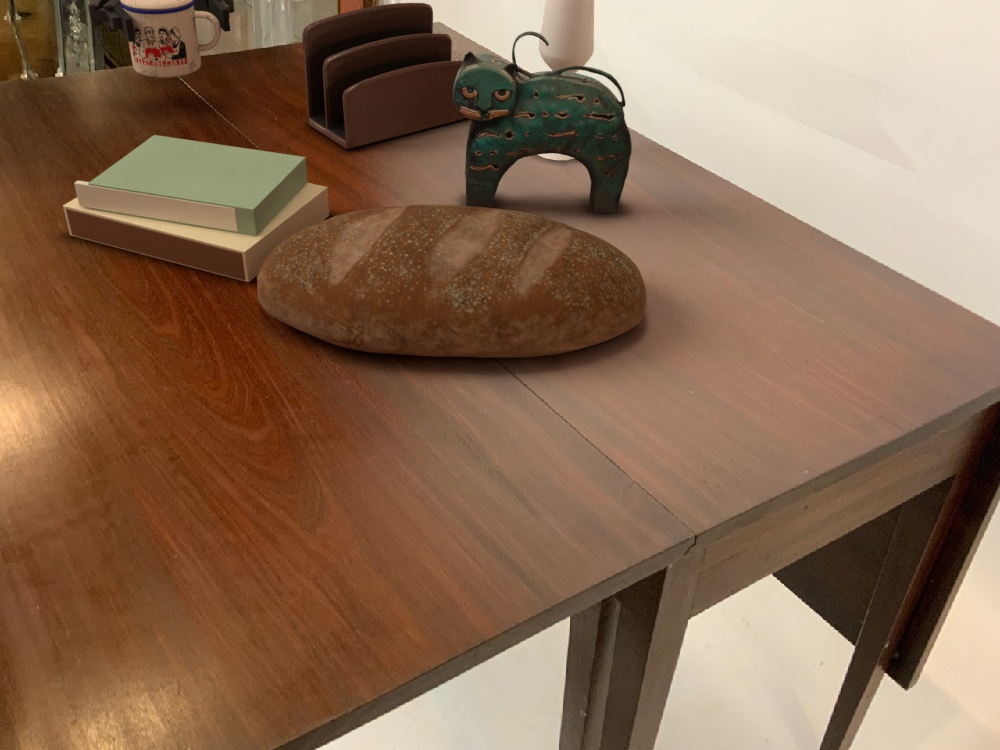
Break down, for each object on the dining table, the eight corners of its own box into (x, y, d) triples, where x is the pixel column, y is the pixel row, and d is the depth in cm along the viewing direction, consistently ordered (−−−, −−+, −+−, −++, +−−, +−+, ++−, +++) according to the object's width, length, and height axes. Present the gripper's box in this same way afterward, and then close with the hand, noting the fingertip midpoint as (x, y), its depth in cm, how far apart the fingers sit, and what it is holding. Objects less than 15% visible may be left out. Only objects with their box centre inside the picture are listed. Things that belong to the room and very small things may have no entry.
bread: (282, 243, 103) (274, 169, 98) (630, 255, 104) (640, 183, 99) (238, 365, 85) (226, 282, 80) (657, 378, 87) (671, 298, 81)
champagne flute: (582, 140, 129) (601, -53, 114) (584, 161, 123) (605, -39, 109) (531, 137, 128) (544, -56, 114) (531, 158, 123) (545, -42, 109)
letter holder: (307, 125, 128) (298, 16, 120) (429, 96, 139) (429, -6, 130) (347, 151, 122) (341, 39, 114) (472, 119, 133) (475, 13, 124)
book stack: (69, 235, 102) (55, 178, 99) (165, 176, 115) (156, 124, 111) (248, 283, 96) (240, 224, 93) (329, 215, 109) (325, 161, 105)
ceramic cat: (450, 215, 110) (453, 36, 98) (452, 189, 115) (455, 17, 103) (625, 220, 111) (649, 44, 99) (619, 195, 116) (640, 24, 104)
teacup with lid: (124, 79, 124) (107, -16, 117) (139, 55, 132) (123, -36, 125) (220, 80, 126) (209, -14, 119) (229, 57, 133) (219, -33, 126)
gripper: (224, 0, 144) (273, 44, 129) (55, 16, 134) (86, 66, 119) (218, -54, 140) (267, -14, 125) (43, -41, 130) (74, 3, 115)
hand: (179, 25), depth 122 cm, fingers closed on teacup with lid, 11 cm apart
